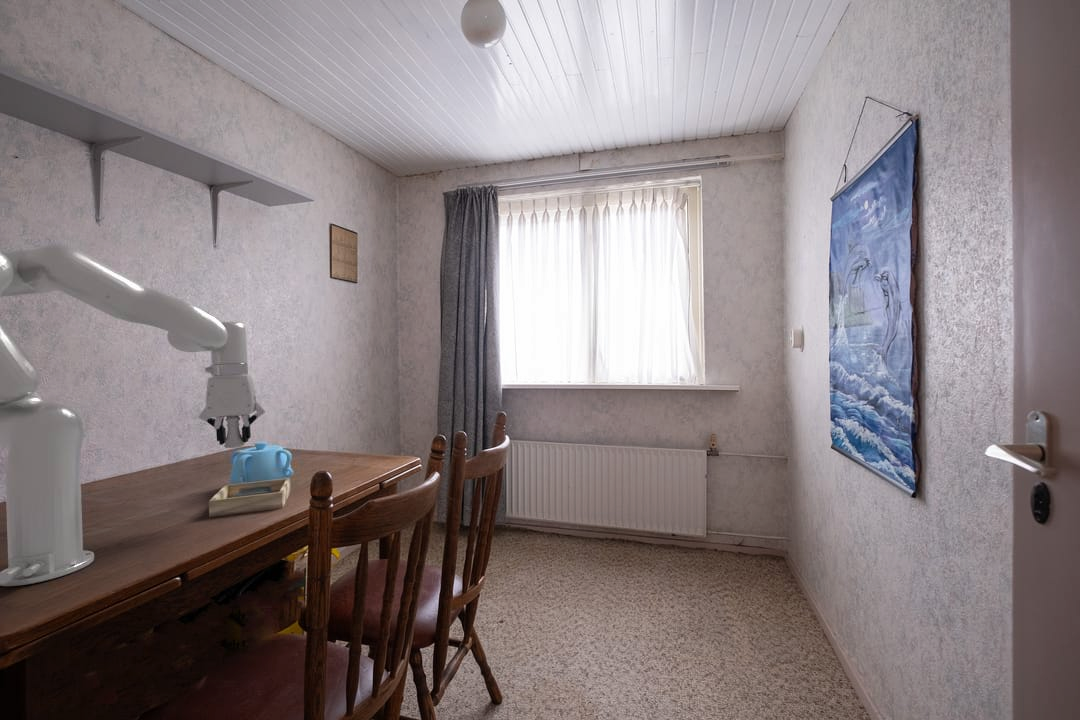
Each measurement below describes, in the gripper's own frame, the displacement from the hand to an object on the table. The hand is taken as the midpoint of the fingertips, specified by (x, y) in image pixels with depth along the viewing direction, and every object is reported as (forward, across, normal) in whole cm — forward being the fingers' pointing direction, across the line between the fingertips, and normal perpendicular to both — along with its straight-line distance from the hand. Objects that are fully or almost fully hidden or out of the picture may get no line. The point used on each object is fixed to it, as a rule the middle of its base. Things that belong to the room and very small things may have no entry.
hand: (234, 441), depth 117 cm
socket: (+18, +2, +7) cm, 20 cm away
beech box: (+18, +2, +7) cm, 20 cm away
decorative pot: (+19, +1, +26) cm, 32 cm away
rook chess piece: (+1, 0, 0) cm, 1 cm away
